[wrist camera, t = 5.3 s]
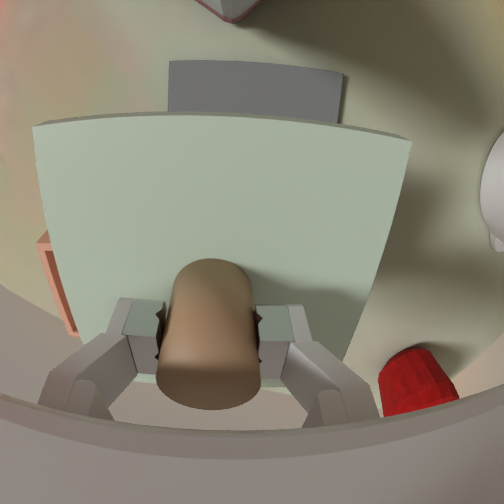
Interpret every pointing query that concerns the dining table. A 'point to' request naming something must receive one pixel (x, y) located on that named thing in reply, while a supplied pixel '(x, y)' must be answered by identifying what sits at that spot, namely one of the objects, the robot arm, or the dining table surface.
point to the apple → (413, 383)
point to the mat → (254, 89)
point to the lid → (217, 231)
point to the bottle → (230, 8)
